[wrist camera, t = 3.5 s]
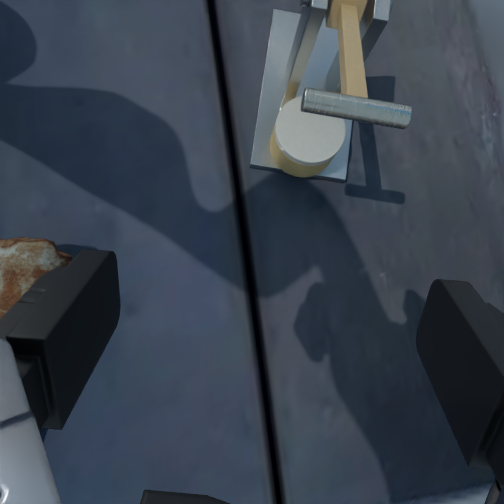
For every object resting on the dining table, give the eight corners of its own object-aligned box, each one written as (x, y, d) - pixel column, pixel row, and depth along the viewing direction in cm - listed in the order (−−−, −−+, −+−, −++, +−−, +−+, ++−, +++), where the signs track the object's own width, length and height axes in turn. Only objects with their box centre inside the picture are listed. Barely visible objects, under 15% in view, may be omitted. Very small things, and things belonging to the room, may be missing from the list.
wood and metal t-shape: (398, 143, 23) (419, 104, 21) (297, 125, 23) (308, 84, 21) (376, 18, 31) (389, -18, 30) (302, 4, 31) (310, -33, 29)
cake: (256, 138, 40) (261, 119, 36) (307, 104, 41) (316, 82, 37) (296, 190, 40) (304, 176, 36) (346, 154, 41) (360, 136, 37)
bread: (84, 251, 39) (62, 240, 33) (29, 477, 36) (-5, 507, 30) (11, 237, 38) (-23, 225, 33) (-50, 465, 35) (-99, 493, 30)
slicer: (342, 183, 41) (411, 111, 27) (249, 167, 41) (267, 85, 26) (360, 31, 44) (431, -110, 29) (272, 15, 43) (300, -137, 29)
